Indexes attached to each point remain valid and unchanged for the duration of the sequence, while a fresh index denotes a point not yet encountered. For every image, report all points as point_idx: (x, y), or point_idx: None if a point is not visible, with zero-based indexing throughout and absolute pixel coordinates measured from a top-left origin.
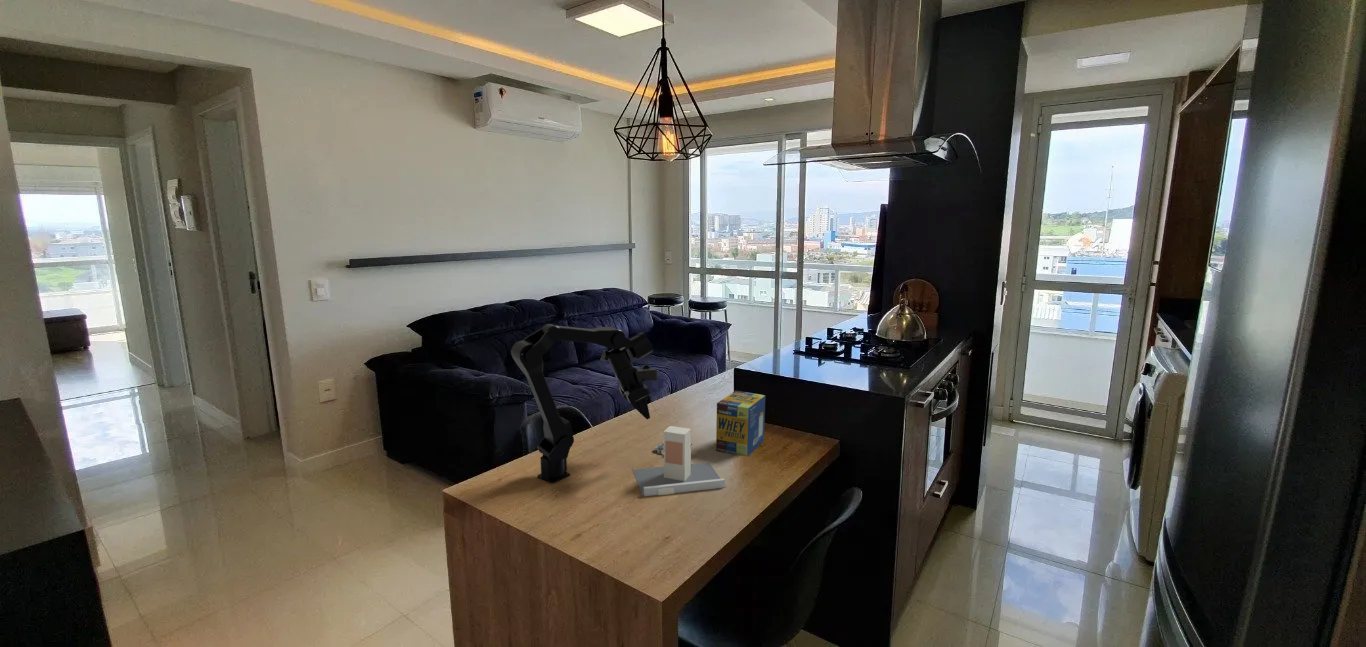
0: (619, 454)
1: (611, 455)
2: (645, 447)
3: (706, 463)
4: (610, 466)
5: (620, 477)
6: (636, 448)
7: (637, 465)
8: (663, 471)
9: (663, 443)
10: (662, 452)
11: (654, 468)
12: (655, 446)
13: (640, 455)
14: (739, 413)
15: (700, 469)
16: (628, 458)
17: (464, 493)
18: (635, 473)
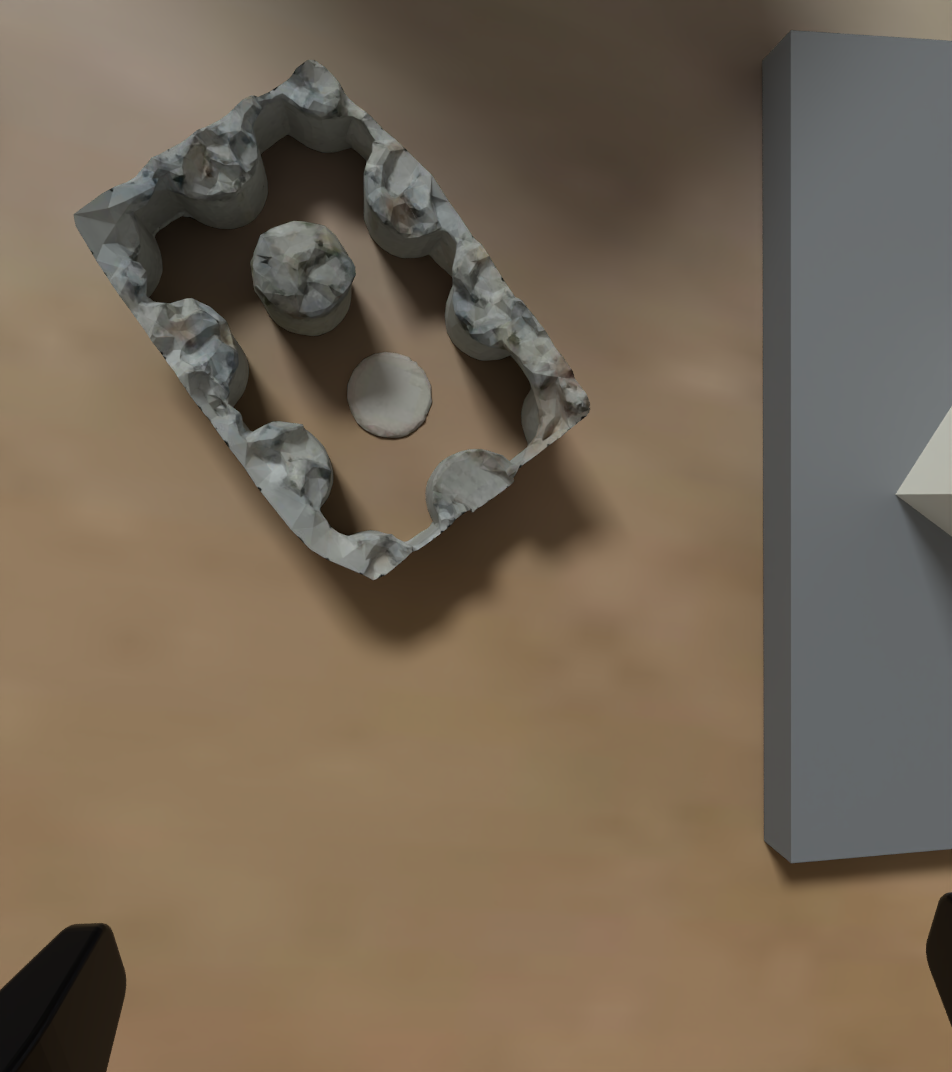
0: (227, 949)
1: (238, 1038)
2: (69, 633)
3: (814, 68)
4: (526, 1047)
5: (786, 955)
6: (80, 744)
7: (560, 776)
8: (894, 564)
9: (232, 434)
10: (454, 490)
11: (809, 642)
12: (333, 559)
13: (305, 719)
14: None
15: (932, 180)
16: (361, 856)
17: None
18: (875, 842)
